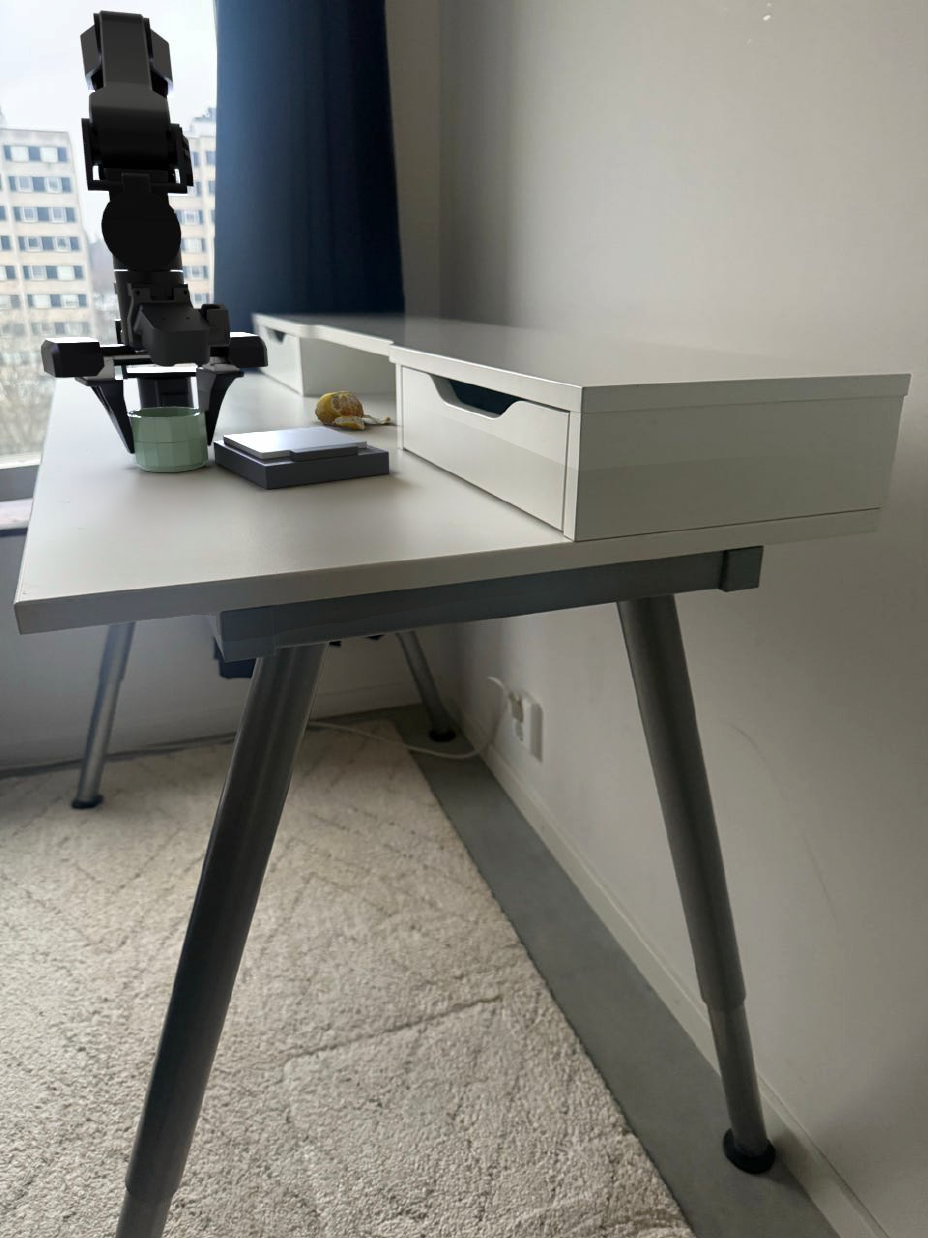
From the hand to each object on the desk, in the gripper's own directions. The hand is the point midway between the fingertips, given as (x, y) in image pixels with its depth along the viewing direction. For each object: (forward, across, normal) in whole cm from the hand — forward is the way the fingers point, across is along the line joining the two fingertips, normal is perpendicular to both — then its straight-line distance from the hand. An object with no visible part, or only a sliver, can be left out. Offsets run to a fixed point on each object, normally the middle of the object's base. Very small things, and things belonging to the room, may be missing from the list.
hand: (170, 449), depth 81 cm
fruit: (+2, +25, +12) cm, 28 cm away
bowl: (+2, 0, 0) cm, 2 cm away
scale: (+2, +10, -7) cm, 12 cm away
